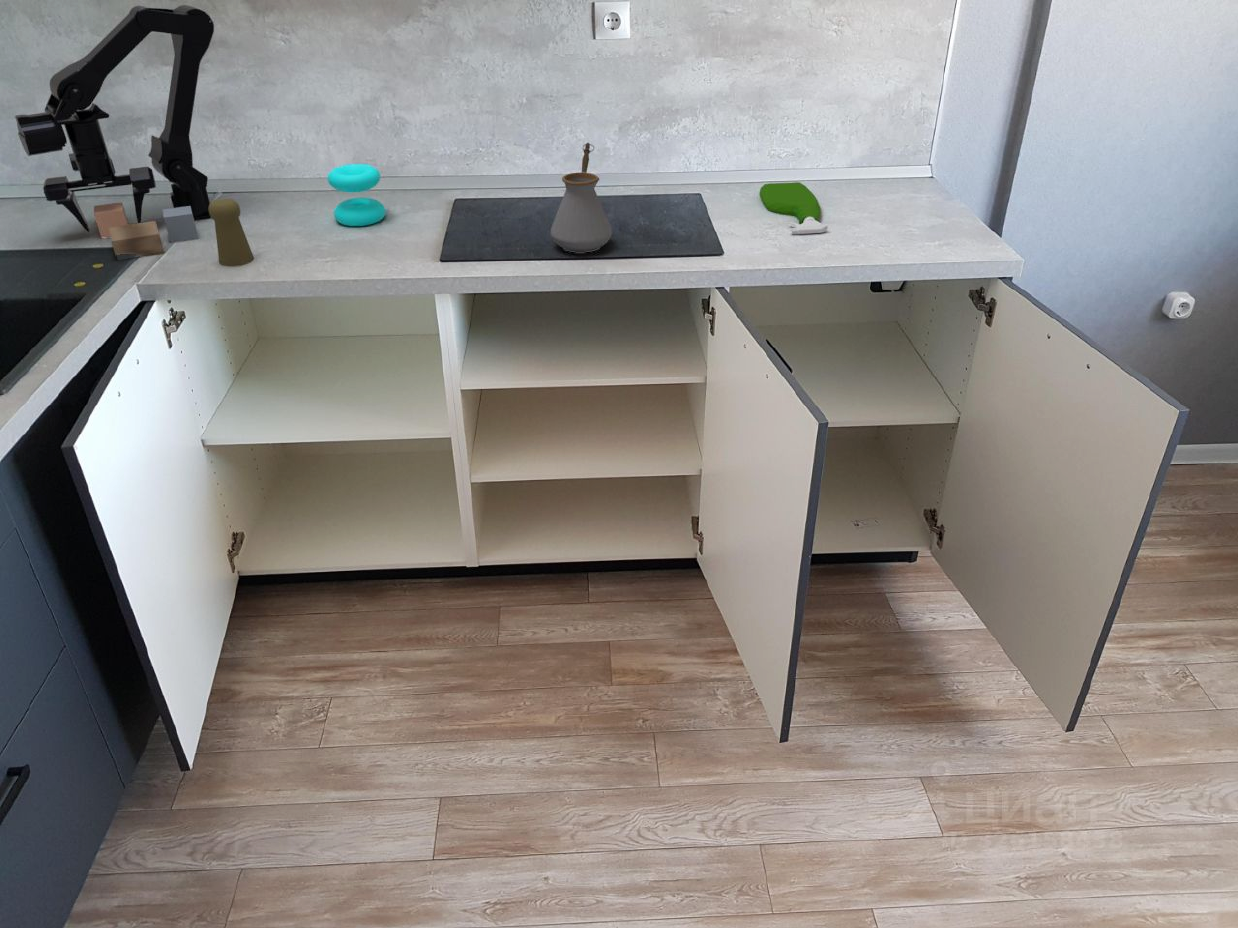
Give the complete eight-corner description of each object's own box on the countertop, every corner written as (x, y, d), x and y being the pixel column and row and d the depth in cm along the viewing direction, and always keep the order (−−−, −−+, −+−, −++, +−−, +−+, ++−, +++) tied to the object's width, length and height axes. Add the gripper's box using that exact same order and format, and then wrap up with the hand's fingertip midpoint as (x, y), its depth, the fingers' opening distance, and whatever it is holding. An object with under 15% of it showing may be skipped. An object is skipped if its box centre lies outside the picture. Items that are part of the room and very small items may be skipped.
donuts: (318, 177, 180) (336, 161, 188) (328, 227, 186) (345, 210, 194) (369, 178, 179) (385, 162, 187) (377, 229, 185) (392, 212, 193)
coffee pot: (609, 258, 171) (608, 176, 163) (547, 257, 172) (542, 174, 164) (618, 218, 189) (618, 142, 181) (561, 217, 190) (558, 141, 181)
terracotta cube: (129, 227, 187) (122, 202, 184) (130, 235, 183) (122, 210, 180) (102, 231, 185) (94, 206, 182) (101, 239, 181) (93, 213, 178)
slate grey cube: (197, 231, 185) (190, 205, 182) (198, 239, 181) (192, 213, 178) (169, 234, 183) (162, 209, 180) (170, 243, 179) (163, 217, 176)
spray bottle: (804, 195, 202) (839, 237, 182) (754, 197, 201) (783, 240, 181) (806, 181, 200) (841, 222, 180) (755, 183, 199) (785, 225, 179)
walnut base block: (161, 241, 181) (155, 220, 179) (164, 254, 175) (158, 234, 173) (115, 248, 178) (109, 227, 176) (117, 262, 172) (111, 241, 170)
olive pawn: (242, 251, 175) (228, 192, 169) (260, 259, 172) (246, 199, 166) (212, 261, 171) (197, 201, 165) (230, 269, 168) (215, 208, 162)
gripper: (141, 129, 184) (163, 208, 193) (34, 141, 178) (62, 221, 186) (143, 144, 175) (166, 225, 184) (31, 156, 169) (60, 240, 178)
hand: (114, 227), depth 183 cm, fingers open, 9 cm apart
